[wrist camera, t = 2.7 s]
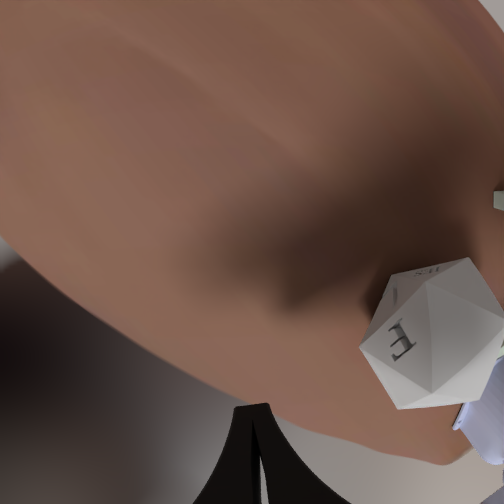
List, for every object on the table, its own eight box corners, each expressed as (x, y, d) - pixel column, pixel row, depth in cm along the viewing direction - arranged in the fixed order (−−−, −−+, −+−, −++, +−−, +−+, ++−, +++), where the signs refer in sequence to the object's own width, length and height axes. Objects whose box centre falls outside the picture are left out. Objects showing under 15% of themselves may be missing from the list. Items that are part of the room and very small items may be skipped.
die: (432, 215, 16) (435, 264, 9) (512, 296, 14) (544, 387, 7) (361, 300, 21) (311, 382, 13) (436, 366, 19) (418, 465, 11)
